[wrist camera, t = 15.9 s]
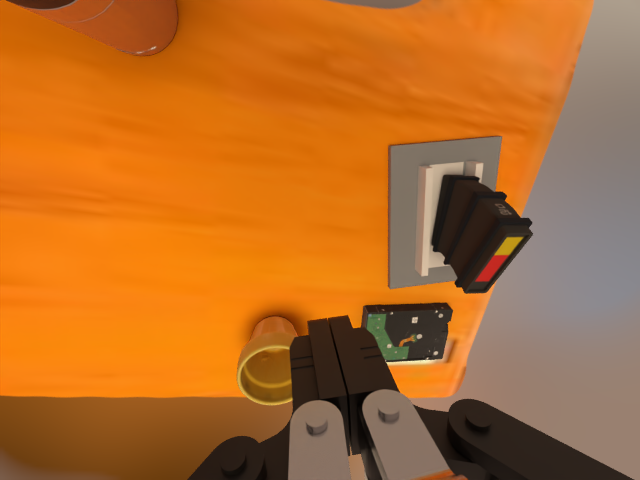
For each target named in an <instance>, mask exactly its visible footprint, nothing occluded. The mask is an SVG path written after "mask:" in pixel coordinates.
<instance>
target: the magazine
mask: <svg viewBox="0 0 640 480" xmlns="http://www.w3.org/2000/svg"><path fill="white" fill-rule="evenodd" d="M479 180H480V178H479V177H476V176H463V175H444V176H443V179H442V185H441V190H440V196H439V202H438V207H437V213H436V219H435V224H434V230H433V236H432V241H431V244H432V246H433V250H432V251H433V252H440V253H441V254H442V255H443V256H444V257H445V259H444V261H443V263H444V265H450V266H451V267H452V269H453V270H454V272H455V274H456V276H457V279H456V281H455V285H456V287H462V289H463V291H464V293H466V294H468V293H486V292H487V291H488V290H489V289H490V288H491V286H492V285H493V284H494V283H495V281H496V280H497V279H498V278H499V276H500V275H501V274H502V273H503V271H504V270H505V269H506V268H507V266H508V265H509V264H510V263H511V261H512V260H513V259H514V258H515V256H516V255H517V254H518V253H519V251H520V250H521V249H522V248H523V246H524V245H525V244H526V243H527V241H528V240H529V239H530V238H531V236H532V235H533V233H532V232H531V230H530V229H529V227H530V226H531V224H532V222H531V220H530V219H529V218H520V216H519V215H518V214H517V212H516V211H515V210H514V209H513V208H512V207H511V206H510V205H509V204H508V203H507V202H505V199H506V197H507V195H506V194H505V193H503V192H494V191H492V190H491V189H490V188H489V187H487V186H486V185H484V184H482V183H480V182H479Z"/></svg>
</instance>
